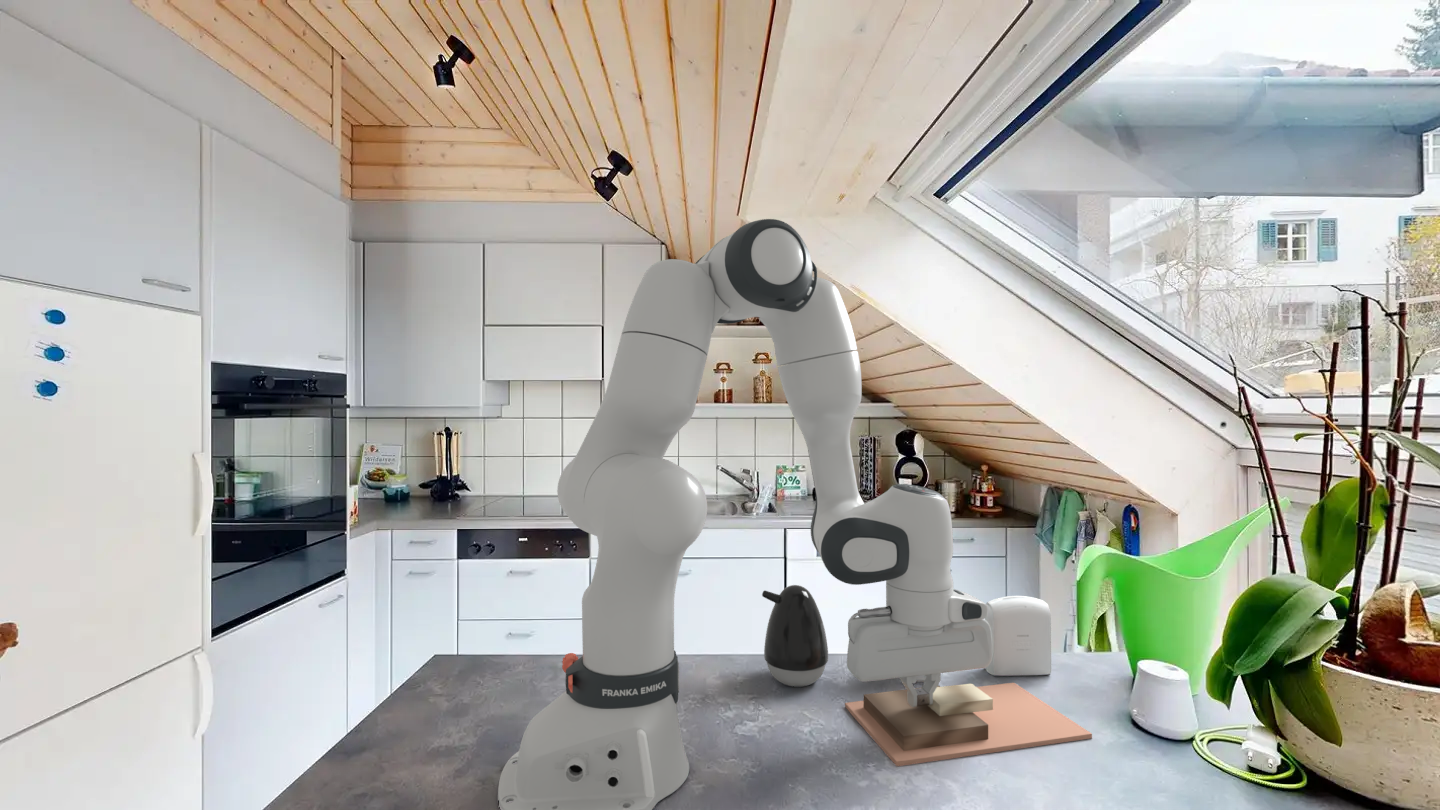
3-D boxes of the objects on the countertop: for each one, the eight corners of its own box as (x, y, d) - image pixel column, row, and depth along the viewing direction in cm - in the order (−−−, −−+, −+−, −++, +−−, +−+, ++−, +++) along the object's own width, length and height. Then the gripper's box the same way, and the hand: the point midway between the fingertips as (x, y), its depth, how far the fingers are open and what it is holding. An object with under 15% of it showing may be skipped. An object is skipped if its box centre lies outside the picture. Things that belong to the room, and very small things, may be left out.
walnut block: (903, 755, 85) (903, 736, 85) (863, 711, 97) (863, 694, 96) (988, 743, 87) (988, 724, 87) (939, 702, 99) (939, 685, 99)
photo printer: (991, 678, 107) (991, 601, 107) (981, 667, 112) (980, 593, 111) (1056, 677, 107) (1055, 600, 107) (1043, 666, 111) (1043, 592, 111)
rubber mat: (896, 766, 82) (896, 761, 82) (845, 706, 98) (845, 702, 98) (1092, 738, 88) (1091, 733, 88) (1013, 686, 104) (1013, 682, 104)
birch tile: (939, 716, 90) (939, 704, 90) (920, 699, 95) (920, 688, 95) (992, 709, 91) (992, 699, 91) (971, 693, 96) (971, 683, 96)
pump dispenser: (762, 666, 113) (761, 576, 112) (824, 666, 112) (823, 576, 112) (764, 694, 103) (762, 595, 102) (832, 694, 102) (831, 595, 102)
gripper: (858, 618, 86) (859, 724, 87) (999, 605, 91) (999, 706, 91) (838, 603, 92) (839, 702, 93) (971, 591, 97) (972, 686, 97)
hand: (920, 704), depth 92 cm, fingers closed
